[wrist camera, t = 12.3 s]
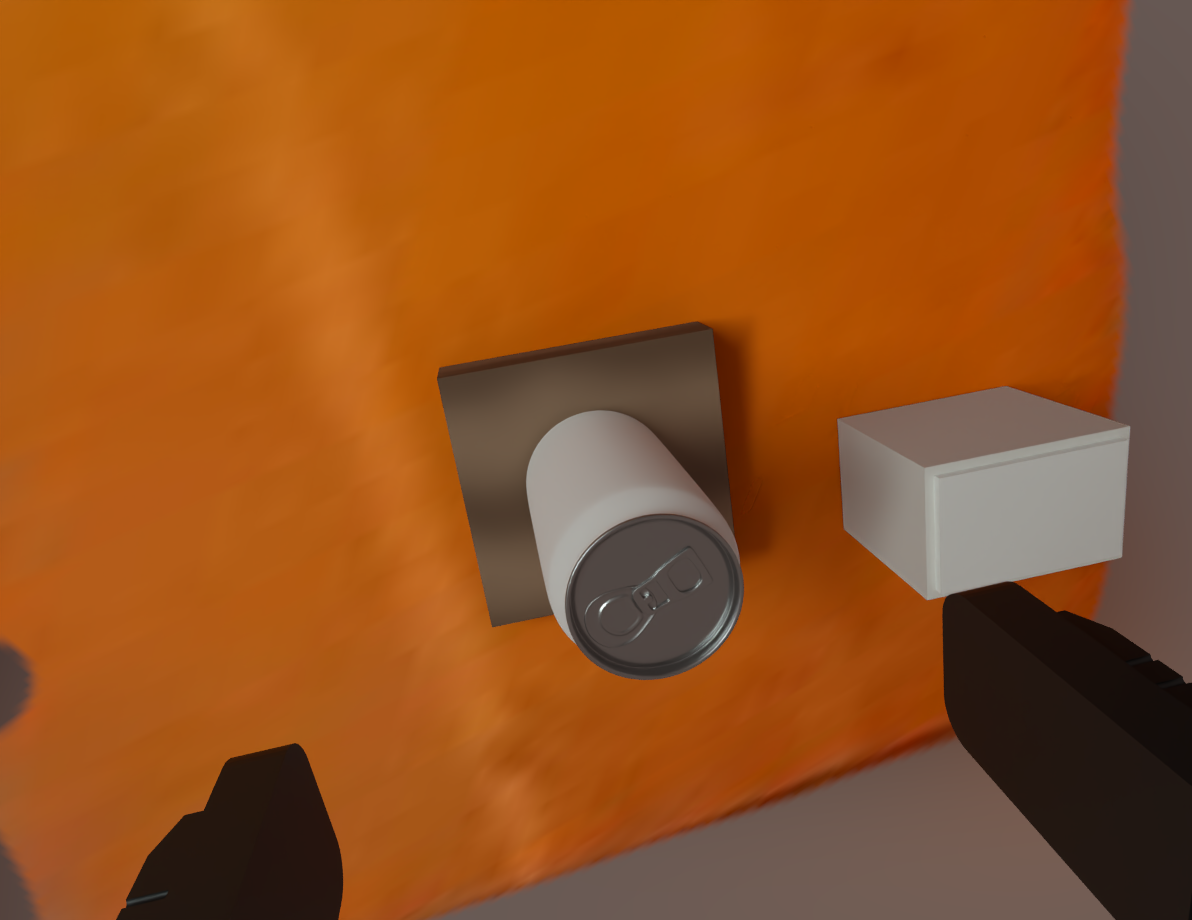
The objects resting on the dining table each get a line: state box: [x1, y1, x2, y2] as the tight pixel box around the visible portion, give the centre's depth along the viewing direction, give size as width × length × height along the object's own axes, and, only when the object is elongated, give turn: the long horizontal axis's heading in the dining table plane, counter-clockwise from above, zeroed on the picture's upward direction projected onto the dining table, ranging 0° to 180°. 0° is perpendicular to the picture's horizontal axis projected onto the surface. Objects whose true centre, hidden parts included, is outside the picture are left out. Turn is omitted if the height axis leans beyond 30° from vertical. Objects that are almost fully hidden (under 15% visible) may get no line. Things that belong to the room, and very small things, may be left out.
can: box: [526, 410, 744, 680], centre depth 30 cm, size 6×6×12 cm
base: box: [437, 322, 735, 627], centre depth 37 cm, size 12×12×2 cm
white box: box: [837, 386, 1130, 600], centre depth 37 cm, size 6×9×8 cm, turn 99°
